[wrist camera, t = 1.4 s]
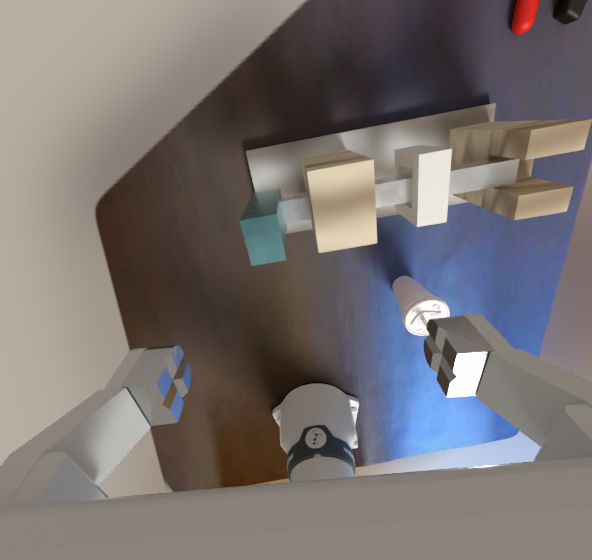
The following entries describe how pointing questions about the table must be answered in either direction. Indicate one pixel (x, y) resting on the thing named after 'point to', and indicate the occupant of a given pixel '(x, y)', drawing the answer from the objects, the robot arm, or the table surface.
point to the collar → (425, 183)
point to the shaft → (388, 191)
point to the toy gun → (526, 8)
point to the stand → (380, 164)
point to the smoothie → (417, 305)
